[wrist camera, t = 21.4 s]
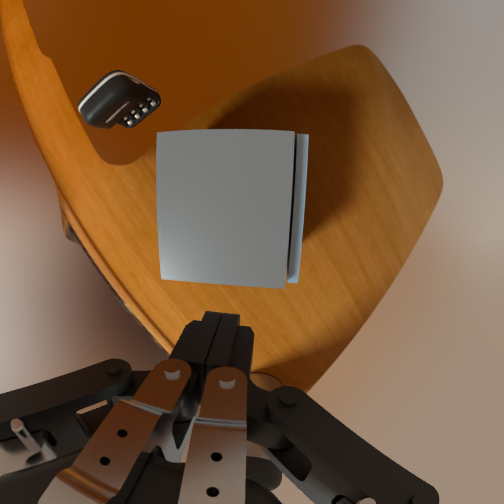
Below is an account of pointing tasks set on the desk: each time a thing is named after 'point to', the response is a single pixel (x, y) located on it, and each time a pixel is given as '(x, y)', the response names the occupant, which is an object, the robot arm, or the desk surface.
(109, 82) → the battery charger
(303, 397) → the robot arm
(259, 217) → the cabinet
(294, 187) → the drawer
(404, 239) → the desk surface
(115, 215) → the desk surface
